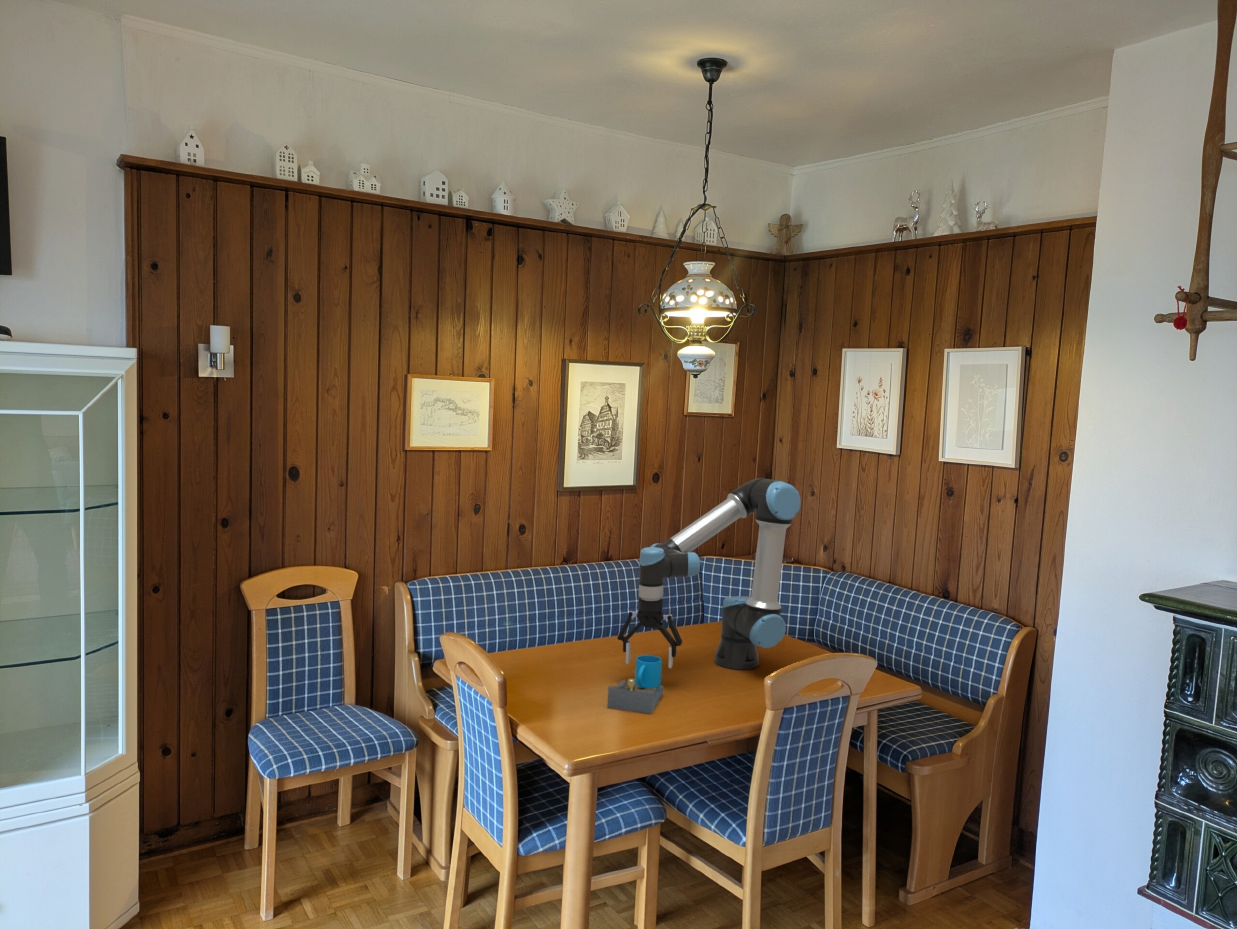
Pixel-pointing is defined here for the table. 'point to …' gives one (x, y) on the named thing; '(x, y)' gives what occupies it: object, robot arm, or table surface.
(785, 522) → the robot arm
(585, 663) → the table surface
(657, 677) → the mug
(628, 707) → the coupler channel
